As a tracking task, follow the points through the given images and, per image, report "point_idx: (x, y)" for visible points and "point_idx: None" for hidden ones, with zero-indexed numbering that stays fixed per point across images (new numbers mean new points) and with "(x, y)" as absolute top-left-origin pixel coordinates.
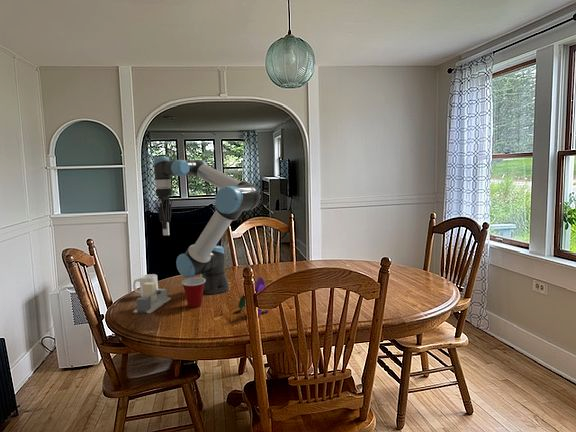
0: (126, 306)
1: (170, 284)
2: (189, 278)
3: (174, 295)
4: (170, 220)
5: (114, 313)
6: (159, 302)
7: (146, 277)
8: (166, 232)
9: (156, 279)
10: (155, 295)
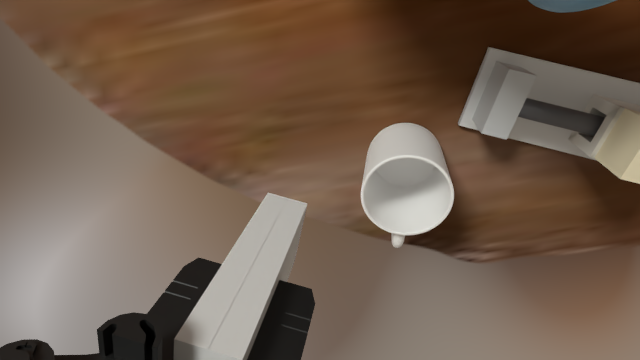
0: (534, 214)
1: (223, 102)
2: None
3: (421, 41)
4: (102, 335)
5: (619, 236)
6: (561, 86)
7: (369, 205)
8: (293, 245)
9: (418, 149)
10: (624, 106)
